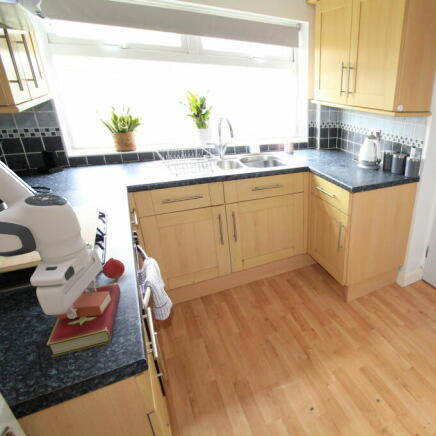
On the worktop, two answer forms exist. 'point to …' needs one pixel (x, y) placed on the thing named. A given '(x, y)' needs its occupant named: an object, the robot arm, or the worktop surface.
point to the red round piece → (113, 268)
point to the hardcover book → (85, 327)
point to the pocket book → (90, 304)
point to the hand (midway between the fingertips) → (83, 304)
